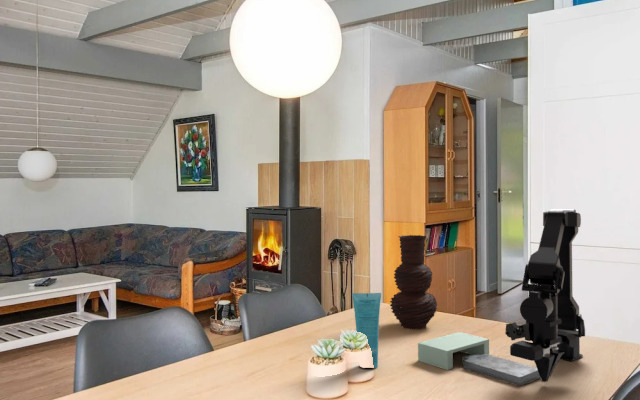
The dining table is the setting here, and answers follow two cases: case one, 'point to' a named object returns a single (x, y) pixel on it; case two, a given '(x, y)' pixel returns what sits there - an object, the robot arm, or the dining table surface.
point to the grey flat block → (501, 368)
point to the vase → (413, 285)
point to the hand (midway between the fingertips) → (544, 381)
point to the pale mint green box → (450, 348)
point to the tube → (368, 319)
